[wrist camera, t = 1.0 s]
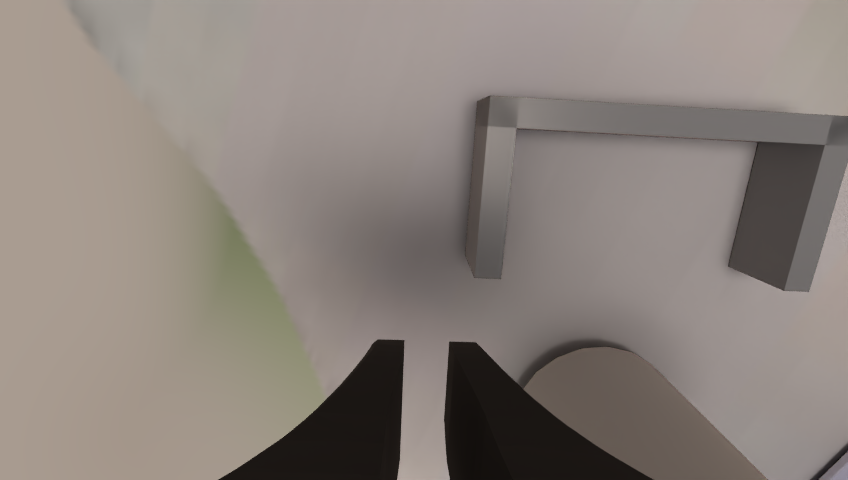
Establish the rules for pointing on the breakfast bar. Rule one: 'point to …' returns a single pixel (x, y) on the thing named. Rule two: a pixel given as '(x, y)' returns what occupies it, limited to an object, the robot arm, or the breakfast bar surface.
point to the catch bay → (775, 131)
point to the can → (636, 416)
